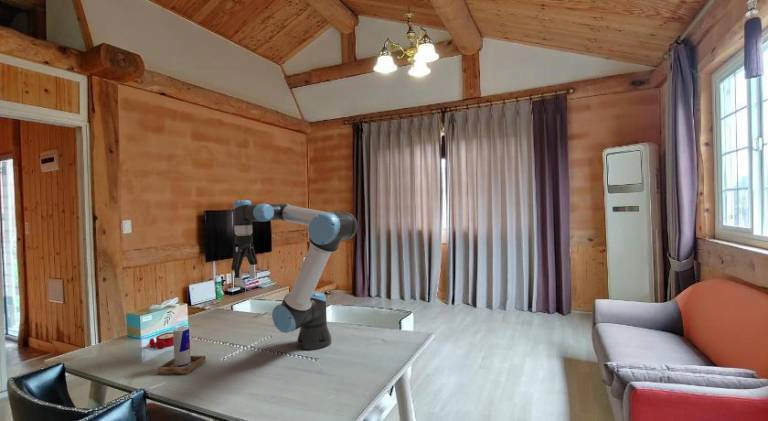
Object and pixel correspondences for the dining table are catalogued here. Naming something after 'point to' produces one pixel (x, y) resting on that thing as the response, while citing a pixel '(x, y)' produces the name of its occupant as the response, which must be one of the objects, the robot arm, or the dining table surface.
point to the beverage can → (181, 347)
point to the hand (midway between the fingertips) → (245, 281)
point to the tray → (172, 370)
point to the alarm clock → (162, 341)
